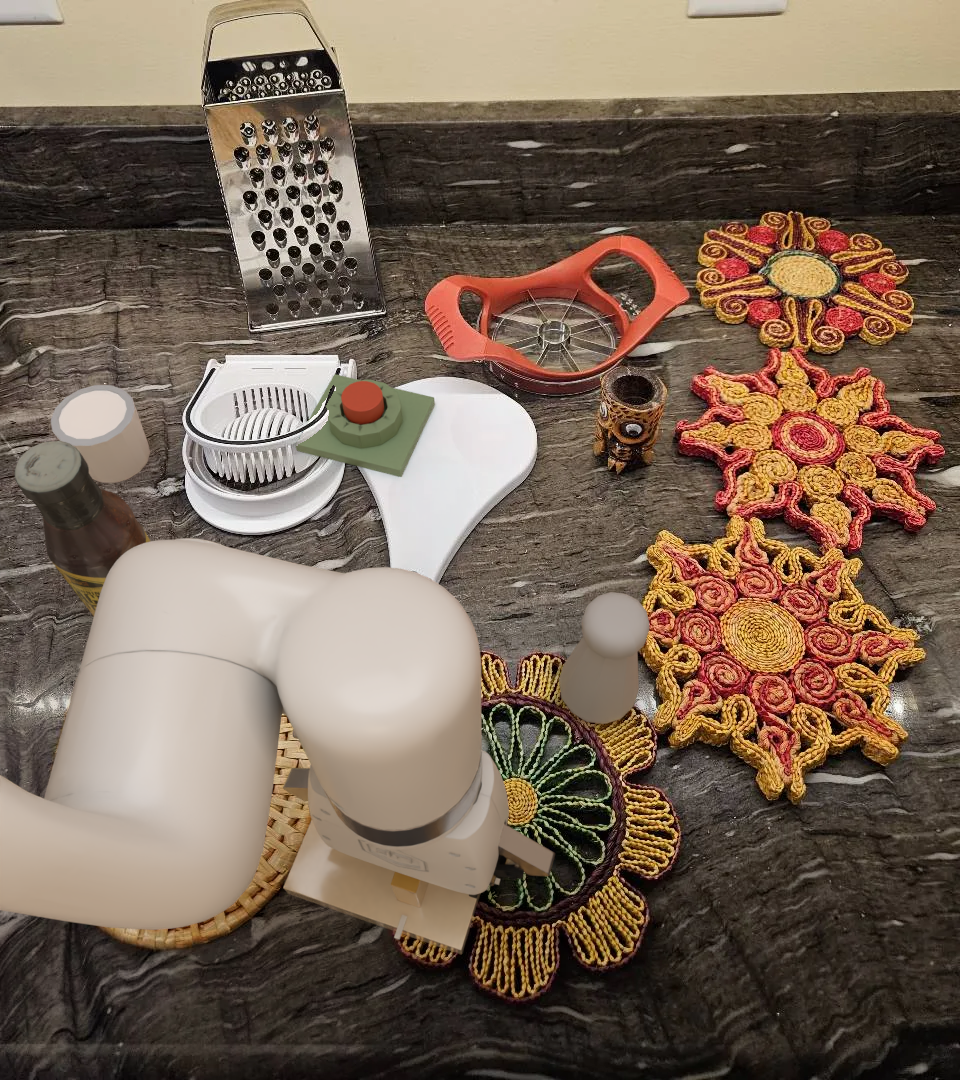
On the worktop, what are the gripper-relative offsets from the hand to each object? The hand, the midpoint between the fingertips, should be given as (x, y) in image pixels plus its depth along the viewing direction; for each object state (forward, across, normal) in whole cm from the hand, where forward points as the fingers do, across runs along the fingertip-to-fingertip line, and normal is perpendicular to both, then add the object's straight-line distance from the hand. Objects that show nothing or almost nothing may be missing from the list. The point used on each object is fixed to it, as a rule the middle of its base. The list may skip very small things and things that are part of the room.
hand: (423, 853), depth 55 cm
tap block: (+4, -2, 0) cm, 4 cm away
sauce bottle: (+4, -28, +12) cm, 31 cm away
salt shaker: (+4, +8, +16) cm, 18 cm away
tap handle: (+1, 0, 0) cm, 1 cm away
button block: (+4, -18, +34) cm, 39 cm away
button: (0, -18, +35) cm, 39 cm away
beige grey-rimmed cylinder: (+4, -38, +24) cm, 45 cm away
